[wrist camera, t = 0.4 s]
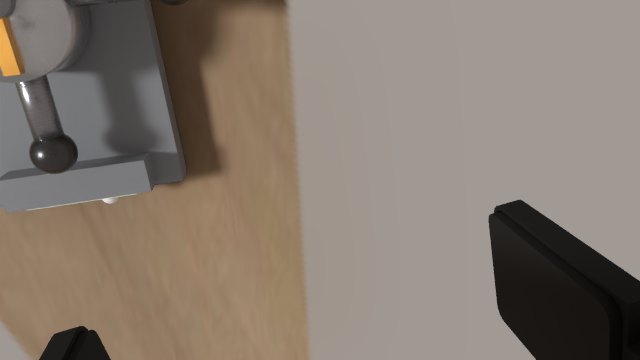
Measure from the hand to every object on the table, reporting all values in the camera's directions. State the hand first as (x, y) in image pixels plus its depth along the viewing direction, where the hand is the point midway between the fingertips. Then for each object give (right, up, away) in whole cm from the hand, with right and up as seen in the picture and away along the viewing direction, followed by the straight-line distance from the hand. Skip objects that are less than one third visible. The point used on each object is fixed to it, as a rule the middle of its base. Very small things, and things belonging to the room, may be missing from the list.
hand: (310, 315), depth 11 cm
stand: (-19, +13, +23) cm, 33 cm away
